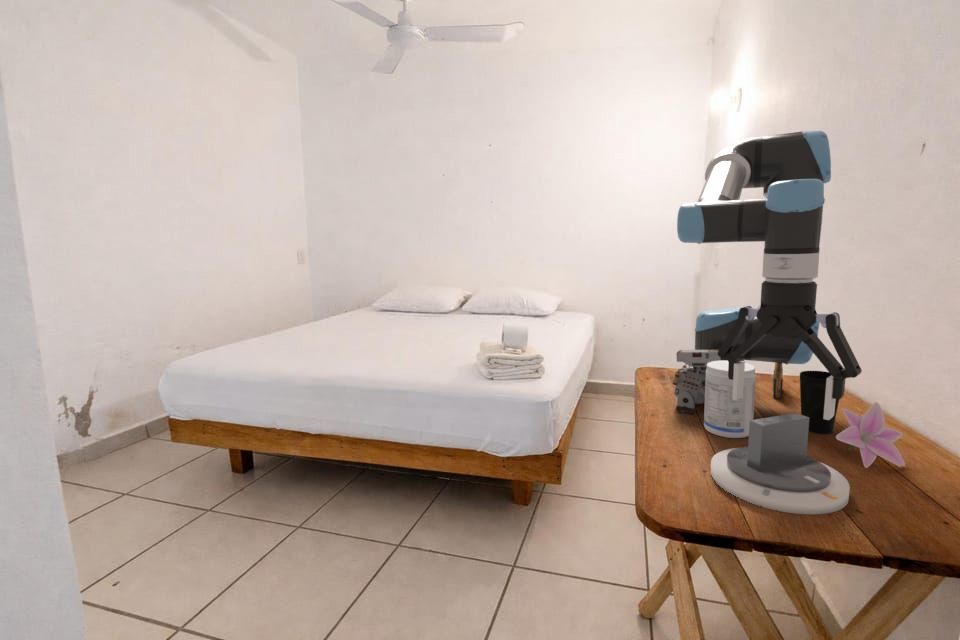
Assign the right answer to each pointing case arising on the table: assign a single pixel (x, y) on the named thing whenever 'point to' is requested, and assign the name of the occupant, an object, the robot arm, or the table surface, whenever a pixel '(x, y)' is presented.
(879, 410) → the lily
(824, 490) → the dial base
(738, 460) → the dial
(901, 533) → the table surface
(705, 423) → the supplement tub
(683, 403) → the figurine
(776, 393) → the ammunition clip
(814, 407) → the cup
